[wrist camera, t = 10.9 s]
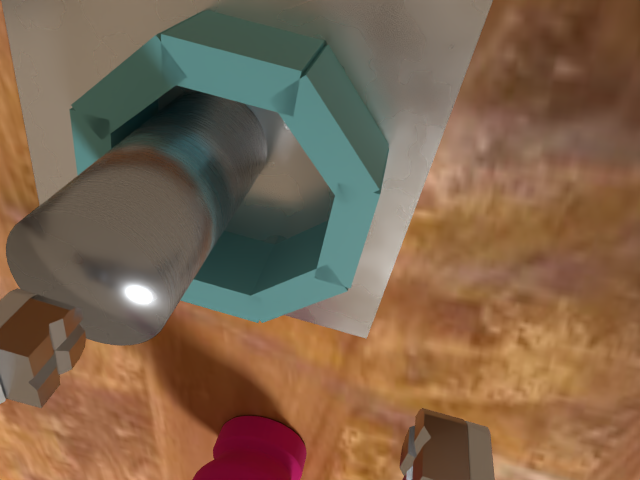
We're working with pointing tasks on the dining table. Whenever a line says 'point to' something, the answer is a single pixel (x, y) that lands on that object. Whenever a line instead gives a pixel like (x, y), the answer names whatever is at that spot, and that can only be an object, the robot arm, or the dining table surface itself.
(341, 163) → the ring
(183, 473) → the dining table surface
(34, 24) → the post stand
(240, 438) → the pepper mill
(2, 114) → the dining table surface
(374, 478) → the dining table surface
